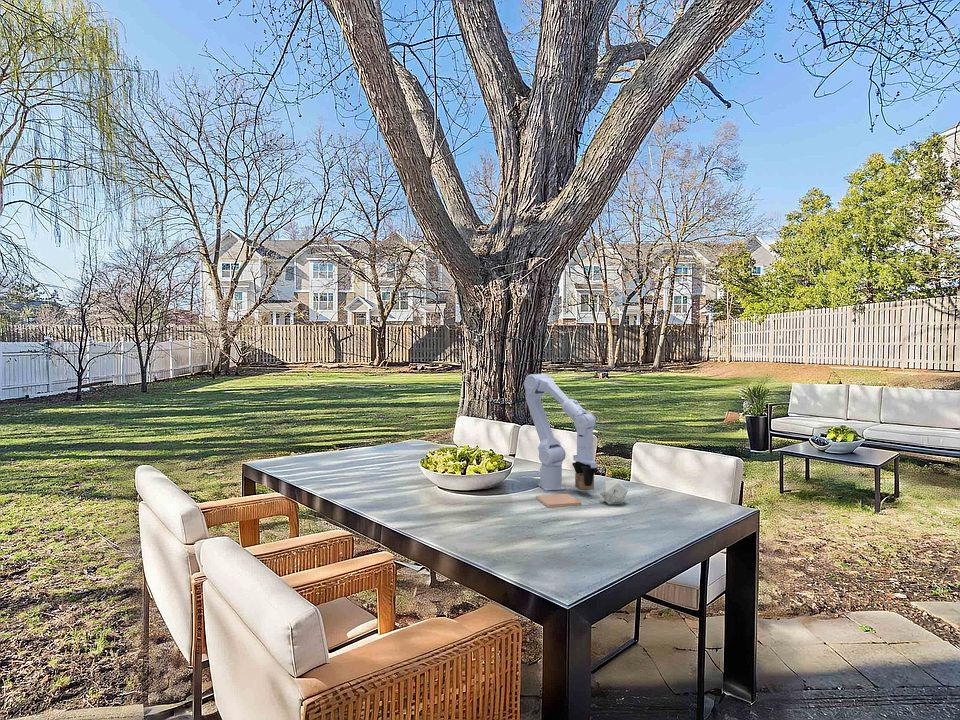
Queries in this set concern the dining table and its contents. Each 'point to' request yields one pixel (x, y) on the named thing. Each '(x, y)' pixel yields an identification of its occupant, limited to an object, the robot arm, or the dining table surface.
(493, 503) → the dining table surface
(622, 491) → the die
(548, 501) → the tile
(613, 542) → the dining table surface
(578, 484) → the cube
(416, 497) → the dining table surface
